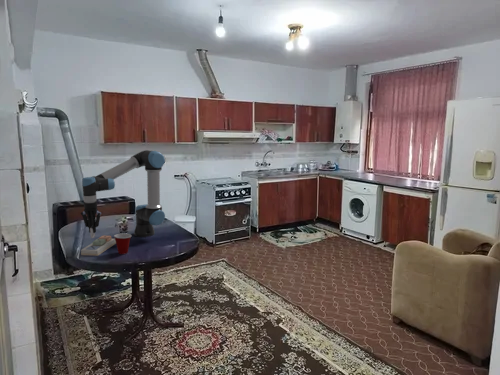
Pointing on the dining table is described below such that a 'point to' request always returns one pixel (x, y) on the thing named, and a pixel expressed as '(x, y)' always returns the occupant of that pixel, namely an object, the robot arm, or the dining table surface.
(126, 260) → the dining table surface
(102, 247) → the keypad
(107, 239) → the tile one
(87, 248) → the tile three
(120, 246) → the plastic cup
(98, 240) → the tile two
